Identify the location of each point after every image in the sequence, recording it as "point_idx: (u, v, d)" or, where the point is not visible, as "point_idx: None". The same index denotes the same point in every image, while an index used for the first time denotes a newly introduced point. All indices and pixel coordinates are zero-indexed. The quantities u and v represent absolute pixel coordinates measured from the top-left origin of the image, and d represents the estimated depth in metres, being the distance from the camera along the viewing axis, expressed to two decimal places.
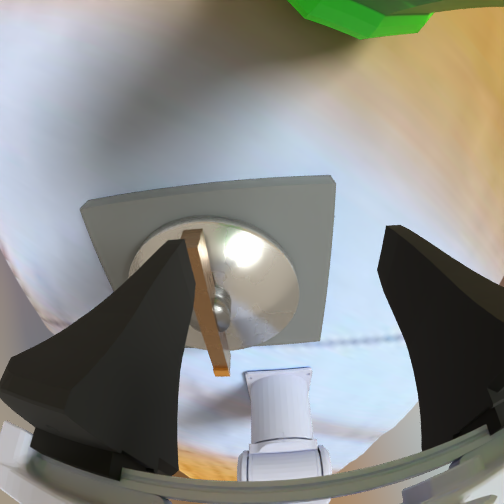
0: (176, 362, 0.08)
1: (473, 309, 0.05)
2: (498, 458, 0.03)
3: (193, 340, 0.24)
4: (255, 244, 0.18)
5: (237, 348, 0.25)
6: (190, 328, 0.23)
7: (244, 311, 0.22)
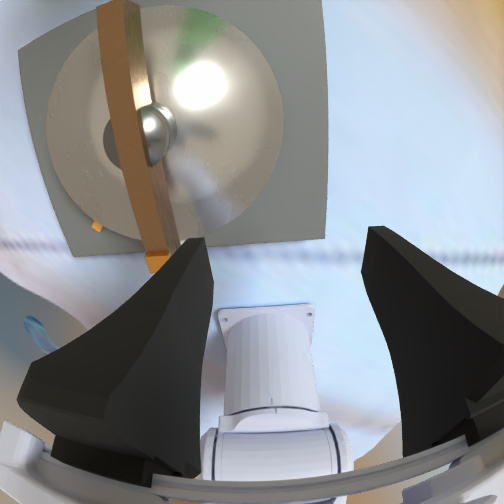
0: (198, 362, 0.08)
1: (450, 314, 0.05)
2: (498, 458, 0.03)
3: (127, 222, 0.15)
4: (210, 24, 0.10)
5: (193, 234, 0.16)
6: (120, 194, 0.14)
7: (197, 148, 0.13)
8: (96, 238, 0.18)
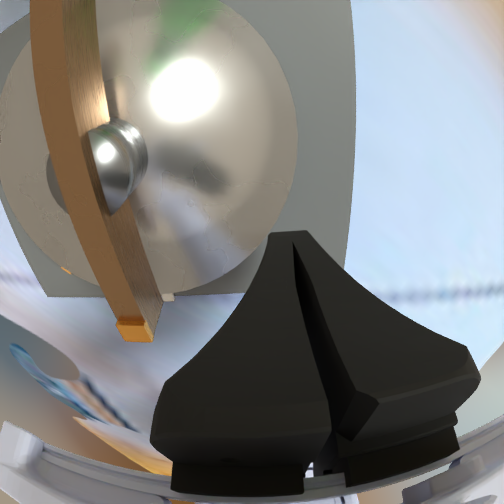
0: None
1: (327, 334, 0.05)
2: (498, 458, 0.03)
3: None
4: (192, 4, 0.06)
5: (177, 288, 0.12)
6: None
7: (177, 182, 0.10)
8: (69, 279, 0.14)
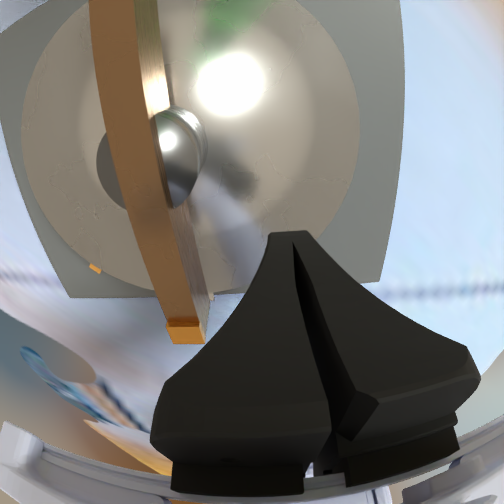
0: None
1: (327, 334, 0.05)
2: (498, 458, 0.03)
3: (135, 268, 0.12)
4: None
5: (225, 286, 0.12)
6: (125, 234, 0.11)
7: (237, 176, 0.09)
8: (96, 279, 0.14)
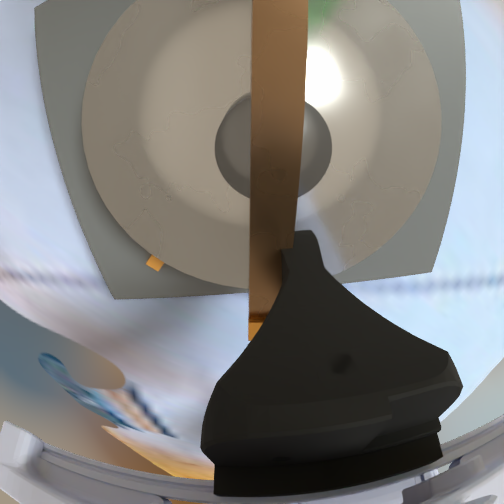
0: None
1: (305, 336, 0.05)
2: (498, 458, 0.03)
3: (201, 259, 0.11)
4: (384, 13, 0.06)
5: None
6: (200, 220, 0.10)
7: (335, 175, 0.09)
8: (151, 278, 0.14)
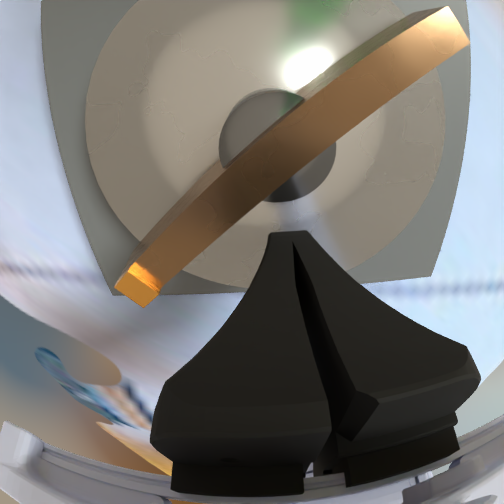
0: None
1: (327, 334, 0.05)
2: (498, 458, 0.03)
3: (123, 183, 0.09)
4: (434, 134, 0.08)
5: None
6: (153, 151, 0.09)
7: (288, 206, 0.10)
8: None
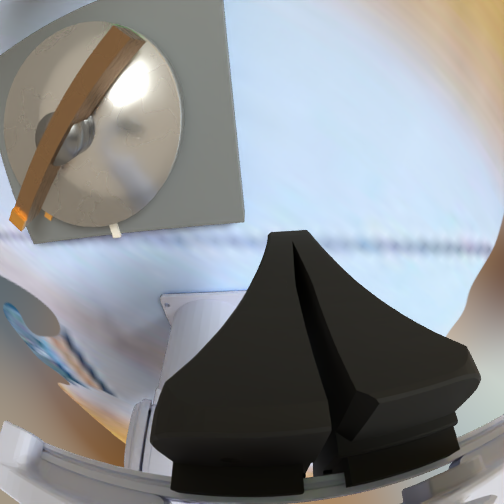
0: None
1: (327, 334, 0.05)
2: (498, 458, 0.03)
3: (21, 168, 0.14)
4: (168, 101, 0.13)
5: (50, 212, 0.16)
6: (30, 149, 0.13)
7: (90, 169, 0.14)
8: (49, 226, 0.18)
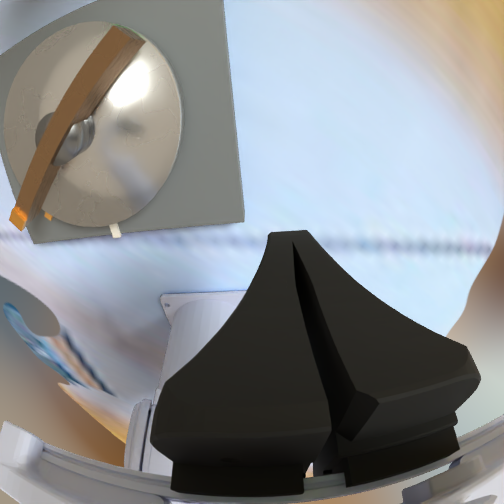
0: None
1: (327, 334, 0.05)
2: (498, 458, 0.03)
3: (21, 168, 0.14)
4: (168, 101, 0.13)
5: (50, 212, 0.16)
6: (30, 149, 0.13)
7: (90, 169, 0.14)
8: (49, 226, 0.18)
